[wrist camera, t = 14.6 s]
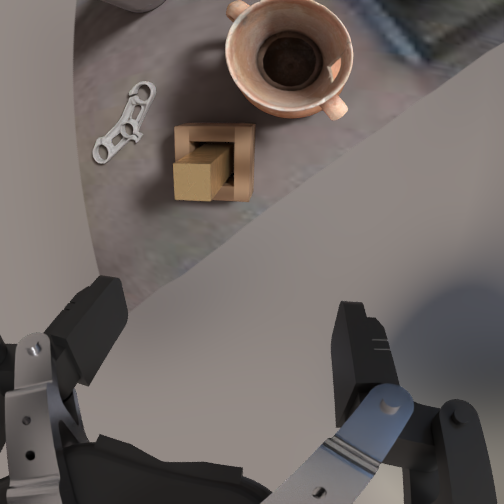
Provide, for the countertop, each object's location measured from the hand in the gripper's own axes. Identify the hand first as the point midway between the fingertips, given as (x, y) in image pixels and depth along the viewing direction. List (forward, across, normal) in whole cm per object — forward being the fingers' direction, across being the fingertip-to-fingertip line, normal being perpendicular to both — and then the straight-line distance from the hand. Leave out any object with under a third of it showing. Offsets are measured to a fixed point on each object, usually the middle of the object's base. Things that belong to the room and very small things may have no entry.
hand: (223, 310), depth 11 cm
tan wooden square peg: (+36, +8, +2) cm, 37 cm away
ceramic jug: (+36, -1, -12) cm, 38 cm away
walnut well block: (+36, +8, +2) cm, 37 cm away
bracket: (+37, +23, -3) cm, 44 cm away
